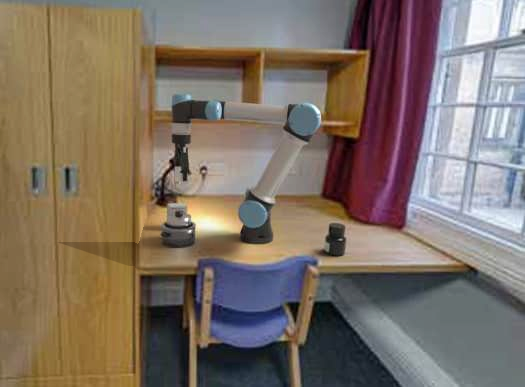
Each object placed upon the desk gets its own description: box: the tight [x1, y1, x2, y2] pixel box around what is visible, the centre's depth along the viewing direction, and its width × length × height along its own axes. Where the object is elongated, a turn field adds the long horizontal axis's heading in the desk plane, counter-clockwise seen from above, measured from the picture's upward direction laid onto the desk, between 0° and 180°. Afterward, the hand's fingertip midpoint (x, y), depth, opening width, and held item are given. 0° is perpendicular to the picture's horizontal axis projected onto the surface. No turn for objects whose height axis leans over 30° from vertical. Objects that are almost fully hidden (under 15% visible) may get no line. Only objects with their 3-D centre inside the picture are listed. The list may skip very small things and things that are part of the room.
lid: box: [166, 210, 192, 229], centre depth 175 cm, size 10×10×6 cm
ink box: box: [166, 202, 188, 216], centre depth 193 cm, size 9×5×12 cm, turn 114°
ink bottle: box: [323, 222, 347, 257], centre depth 174 cm, size 10×9×12 cm
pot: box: [160, 220, 197, 249], centre depth 176 cm, size 18×14×8 cm
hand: (181, 185), depth 172 cm, fingers open, 13 cm apart
